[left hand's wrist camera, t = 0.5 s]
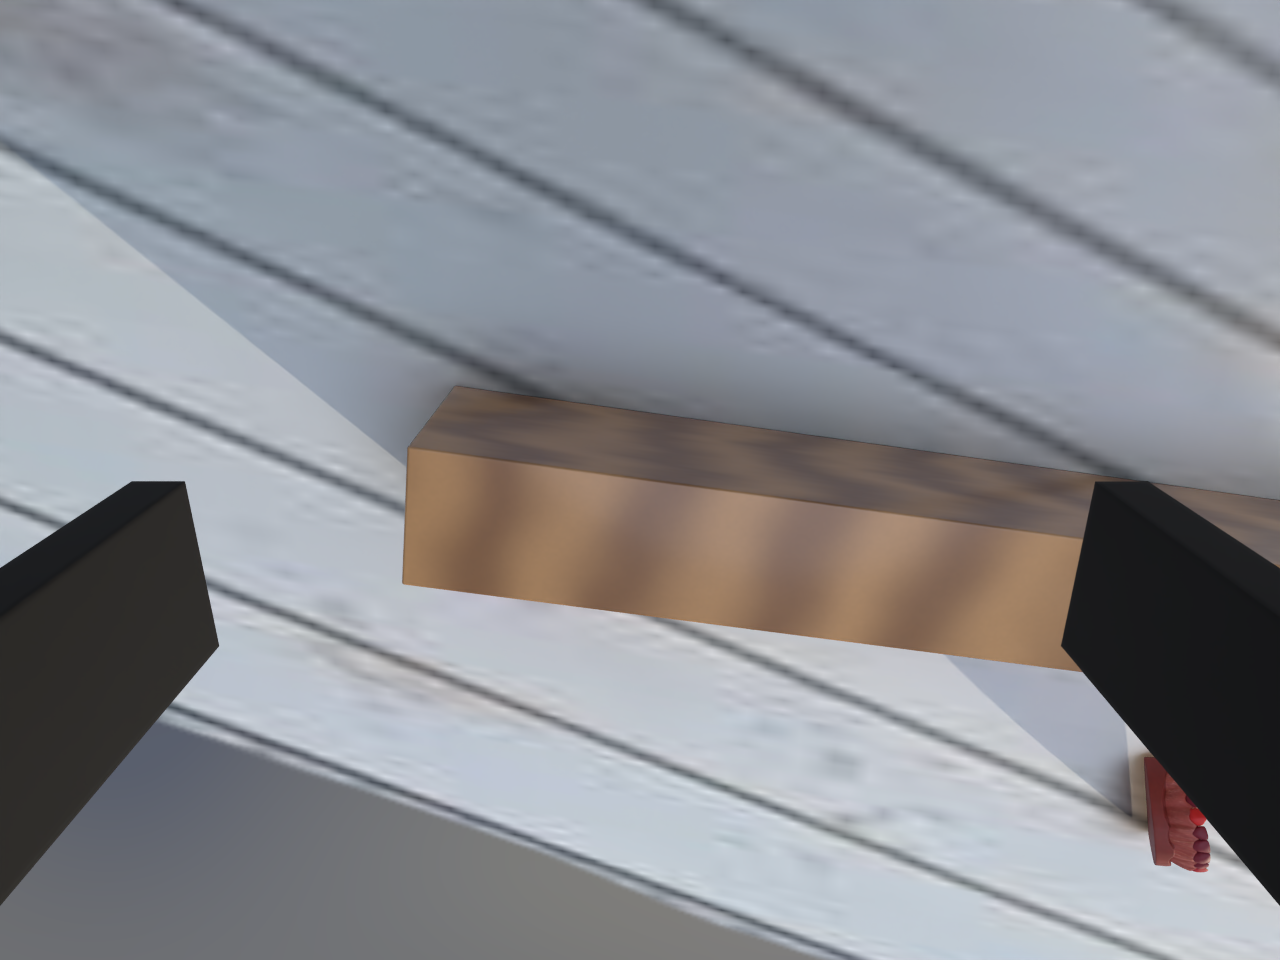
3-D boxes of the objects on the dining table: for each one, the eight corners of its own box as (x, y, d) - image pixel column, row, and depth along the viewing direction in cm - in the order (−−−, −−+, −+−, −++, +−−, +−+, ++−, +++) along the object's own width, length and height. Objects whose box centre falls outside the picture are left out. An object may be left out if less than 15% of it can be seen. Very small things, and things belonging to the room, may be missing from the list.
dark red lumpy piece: (1338, 875, 41) (1166, 903, 42) (1279, 813, 45) (1124, 840, 46) (1339, 783, 40) (1159, 815, 40) (1278, 727, 43) (1116, 757, 44)
